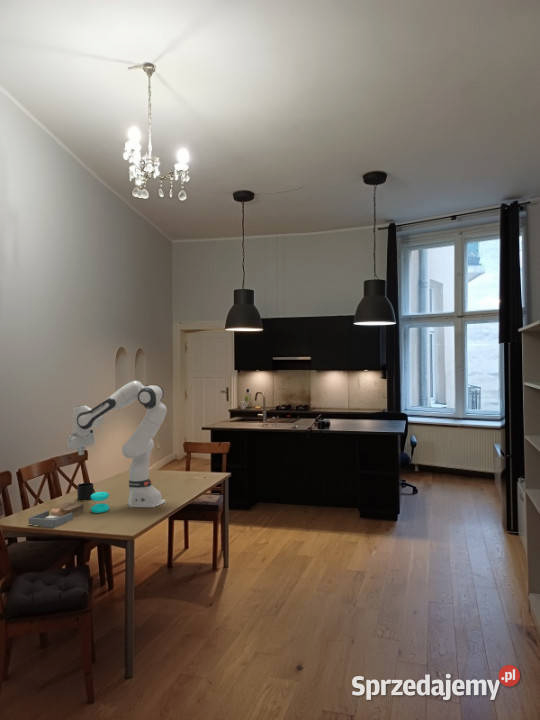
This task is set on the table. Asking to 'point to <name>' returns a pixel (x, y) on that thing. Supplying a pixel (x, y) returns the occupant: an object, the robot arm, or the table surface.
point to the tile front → (52, 517)
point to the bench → (71, 509)
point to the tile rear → (57, 512)
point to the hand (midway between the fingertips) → (81, 454)
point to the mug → (85, 491)
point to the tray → (49, 520)
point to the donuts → (101, 507)
